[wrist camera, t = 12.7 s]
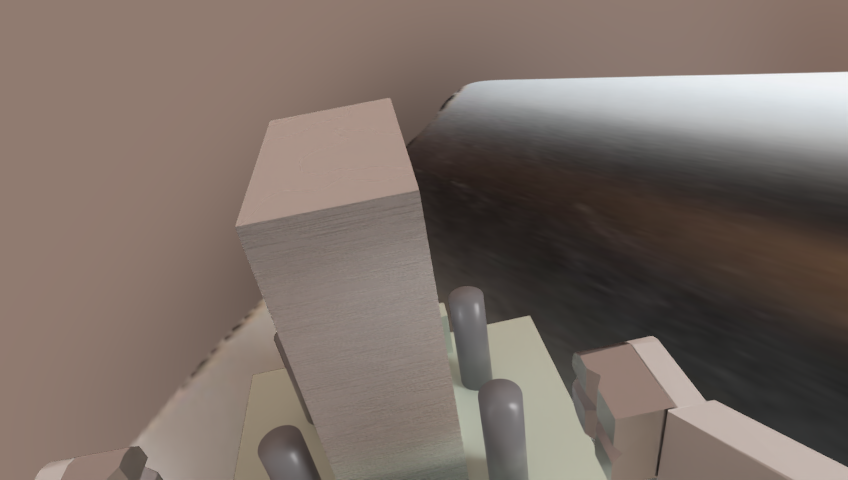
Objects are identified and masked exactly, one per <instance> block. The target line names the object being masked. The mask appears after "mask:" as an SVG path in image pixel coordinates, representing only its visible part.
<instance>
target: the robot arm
mask: <svg viewBox="0 0 848 480" xmlns="http://www.w3.org/2000/svg"><path fill="white" fill-rule="evenodd" d="M572 368H573V370H574V372H575V374H576V376H577V379H576V380H575V381H574V382H573V384H572V397H573V402H574V407H575V411H576V414H577V417H578V419H579V422H580V424H581V426H582V429H583V431H584V433H585V434H586V435H588V436H590V437H591V438H593V439H594V440H595V456H596V458H597V460H598V462H599V464H600V466H601V468H602V470H603V472H604V474H605V476H606V478H607V480H647V479H652V478H657V480H848V467H846V466H844V465H842V464H840V463H838V462H836V461H834V460H832V459H830V458H828V457H826V456H824V455H822V454H820V453H818V452H816V451H814V450H812V449H810V448H808V447H806V446H804V445H802V444H800V443H798V442H796V441H794V440H792V439H791V438H789V437H787V436H785V435H783V434H781V433H779V432H777V431H775V430H773V429H771V428H769V427H767V426H765V425H763V424H761V423H759V422H757V421H755V420H753V419H751V418H749V417H747V416H745V415H743V414H741V413H739V412H737V411H735V410H733V409H731V408H729V407H727V406H725V405H723V404H721V403H719V402H717V401H716V400H712V401H706V400H705V399H704V398H703V397H702V395H701V394H700V393H699V391H698V390H697V389H696V388H695V386H694V385H693V384H692V382H691V381H690V380H689V379H688V377H687V376H686V375H685V373H684V372H683V371H682V370H681V368H680V367H679V366H678V364H677V363H676V362H675V361H674V359H673V358H672V357H671V356H670V354H669V353H668V352H667V350H666V349H665V348H664V347H663V345H662V344H661V343H660V341H659V340H658V339H657V338H655V337H653V336H649V337H645V338H640V339H635V340H631V341H626V342H621V343H616V344H612V345H607V346H603V347H598V348H594V349H589V350H585V351H580V352H576V353H574V355H573V358H572ZM147 458H148V457H147V456H146V455H145V453H144V452H143V451H142V449H141V448H140V447H139V446H136V447H127V448H122V449H117V450H111V451H106V452H101V453H95V454H90V455H84V456H78V457H76V458H70V459H65V460H59V461H54V462H49V463H48V464H47V465H45V466H44V467H43V468H42V469H41V470H40V471H39V472H38V474H37V476H36V478H35V480H163V479H162V478H161V476H160V475H159V473H158V472H156V471H154V470H151V469H149V468H147V467H145V464H146V461H147Z"/></svg>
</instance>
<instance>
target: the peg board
mask: <svg viewBox="0 0 848 480" xmlns="http://www.w3.org/2000/svg"><path fill="white" fill-rule="evenodd" d="M448 300H449V307H450V313H451V319H452V325H453V332H451V333H450V328H449V322H448V316H447V312H446V309H445V305H444V303H440V304H439V308H440V314H441V320H442V325H443V331H444V337H445V343H446V349H447V354H448V360H449V366H450V372H451V378H452V383H453V389H454V395H455V401H456V407H457V412H458V418H459V424H460V430H461V436H462V441H463V447H464V453H465V459H466V465H467V470H468V476H469V480H607V478H606V476H605V474H604V472H603V470H602V468H601V466H600V464H599V462H598V460H597V458H596V456H595V446H594V444H593V442H592V440H591V438H590V436H588V435H586V434H585V433H584V431H583V429H582V426H581V424H580V422H579V419H578V417H577V414H576V411H575V407H574V404H573V402H572V400H571V398H570V396H569V394H568V392H567V389H566V387H565V385H564V383H563V381H562V379H561V377H560V375H559V373H558V371H557V369H556V367H555V365H554V363H553V361H552V359H551V357H550V355H549V353H548V351H547V349H546V347H545V345H544V343H543V341H542V339H541V337H540V335H539V333H538V331H537V329H536V327H535V325H534V323H533V321H532V319H531V317H530V316H526V317H521V318H516V319H511V320H507V321H502V322H497V323H493V324H488V325H487V324H486V315H485V306H484V297H483V293H482V291H481V290H480V289H478V288H476V287H472V286H463V287H459V288H457V289H455V290H453V291H452V292H451V293H450V295H449V297H448ZM274 341H275V343H276V346H277V348H278V351H279V353H280V355H281V358H282V360H283V363H284V365H285V368H282V369H278V370H273V371H268V372H264V373H259V374H254V375H253V376H252V382H251V387H250V393H249V398H248V404H247V409H246V415H245V420H244V425H243V431H242V436H241V442H240V447H239V453H238V458H237V464H236V469H235V474H234V480H336V478H335V475H334V473H333V470H332V468H331V465H330V463H329V460H328V458H327V455H326V453H325V450H324V448H323V445H322V443H321V440H320V438H319V435H318V433H317V430H316V428H315V425H314V423H313V421H312V418H311V416H310V413H309V411H308V408H307V406H306V403H305V401H304V398H303V396H302V393H301V391H300V388H299V386H298V383H297V381H296V378H295V376H294V373H293V371H292V368H291V366H290V363H289V361H288V358H287V356H286V353H285V351H284V348H283V346H282V343H281V341H280V338H279V336H278V333H277V332H276V334H275V336H274Z"/></svg>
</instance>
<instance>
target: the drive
mask: <svg viewBox="0 0 848 480" xmlns="http://www.w3.org/2000/svg"><path fill="white" fill-rule="evenodd" d="M235 228H236V231H237V233H238V236H239V238H240V241H241V243H242V246H243V248H244V251H245V253H246V256H247V258H248V261H249V263H250V266H251V268H252V271H253V273H254V276H255V278H256V281H257V283H258V285H259V288H260V290H261V293H262V296H263V298H264V301H265V303H266V306H267V308H268V311H269V313H270V316H271V318H272V321H273V323H274V326H275V328H276V331H277V333H278V336H279V338H280V341H281V343H282V346H283V348H284V351H285V353H286V356H287V358H288V361H289V363H290V366H291V368H292V371H293V373H294V376H295V378H296V381H297V383H298V386H299V388H300V391H301V393H302V396H303V398H304V401H305V403H306V406H307V408H308V411H309V413H310V416H311V418H312V421H313V423H314V425H315V428H316V430H317V433H318V435H319V438H320V440H321V443H322V445H323V448H324V450H325V453H326V455H327V458H328V460H329V463H330V465H331V468H332V470H333V473H334V475H335V478H336V480H469V476H468V470H467V465H466V459H465V453H464V447H463V441H462V436H461V430H460V424H459V418H458V412H457V407H456V401H455V395H454V389H453V383H452V378H451V372H450V366H449V360H448V354H447V349H446V343H445V337H444V331H443V325H442V320H441V314H440V308H439V302H438V296H437V291H436V285H435V279H434V273H433V268H432V262H431V256H430V250H429V244H428V239H427V233H426V227H425V221H424V215H423V210H422V204H421V198H420V192H419V188H418V185H417V182H416V178H415V175H414V172H413V169H412V166H411V162H410V159H409V156H408V153H407V150H406V147H405V143H404V140H403V137H402V134H401V131H400V128H399V124H398V121H397V118H396V115H395V112H394V108H393V105H392V102H391V99H390V98H386V99H381V100H376V101H370V102H365V103H360V104H355V105H349V106H344V107H339V108H334V109H329V110H324V111H319V112H314V113H308V114H303V115H298V116H292V117H287V118H282V119H277V120H272V121H270V123H269V126H268V129H267V132H266V135H265V138H264V141H263V144H262V147H261V150H260V153H259V156H258V159H257V162H256V165H255V168H254V171H253V174H252V177H251V180H250V183H249V186H248V189H247V192H246V195H245V198H244V201H243V204H242V207H241V210H240V213H239V216H238V219H237V222H236V225H235Z"/></svg>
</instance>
